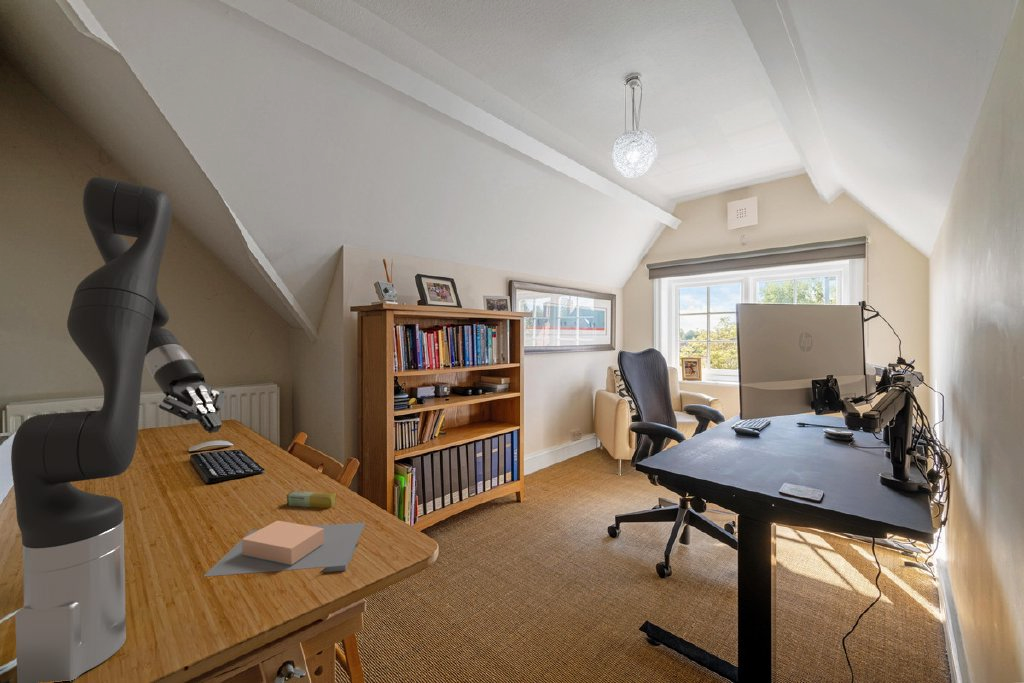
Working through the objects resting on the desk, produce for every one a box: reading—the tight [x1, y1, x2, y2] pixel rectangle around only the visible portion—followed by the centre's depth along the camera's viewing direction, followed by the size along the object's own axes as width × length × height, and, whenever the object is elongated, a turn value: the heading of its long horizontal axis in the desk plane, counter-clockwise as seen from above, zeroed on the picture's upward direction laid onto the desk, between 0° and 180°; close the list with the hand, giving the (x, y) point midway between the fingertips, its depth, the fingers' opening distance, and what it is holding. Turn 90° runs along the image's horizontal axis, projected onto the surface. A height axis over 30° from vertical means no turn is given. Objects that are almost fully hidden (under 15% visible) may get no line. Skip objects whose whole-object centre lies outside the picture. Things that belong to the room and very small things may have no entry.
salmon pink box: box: [241, 520, 324, 566], centre depth 79 cm, size 3×8×12 cm
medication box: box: [286, 490, 337, 509], centre depth 101 cm, size 12×3×4 cm, turn 83°
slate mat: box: [202, 522, 367, 578], centre depth 81 cm, size 17×24×1 cm
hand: (215, 429), depth 84 cm, fingers closed
